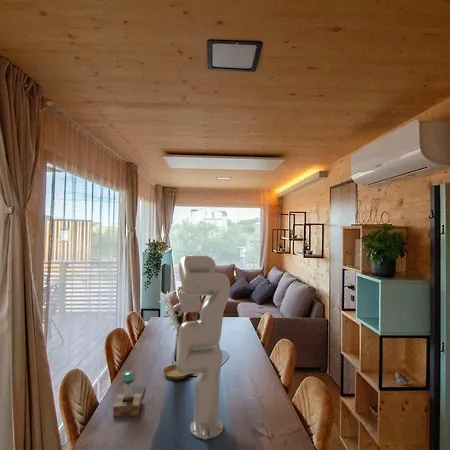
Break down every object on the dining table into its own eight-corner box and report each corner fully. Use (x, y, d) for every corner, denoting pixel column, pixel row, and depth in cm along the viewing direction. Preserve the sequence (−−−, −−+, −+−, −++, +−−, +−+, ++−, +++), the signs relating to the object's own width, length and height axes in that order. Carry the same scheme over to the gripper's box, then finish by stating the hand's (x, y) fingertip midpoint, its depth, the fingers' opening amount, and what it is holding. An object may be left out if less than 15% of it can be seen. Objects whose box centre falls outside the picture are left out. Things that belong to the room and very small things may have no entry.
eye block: (138, 415, 131) (138, 405, 132) (113, 416, 130) (113, 406, 130) (141, 402, 141) (141, 393, 141) (118, 403, 140) (118, 394, 140)
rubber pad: (142, 398, 144) (142, 397, 144) (119, 399, 143) (119, 398, 143) (145, 387, 154) (145, 386, 154) (123, 388, 153) (123, 387, 153)
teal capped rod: (133, 412, 134) (133, 375, 134) (120, 412, 133) (121, 376, 133) (134, 405, 139) (135, 370, 139) (122, 406, 138) (123, 371, 138)
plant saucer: (164, 383, 160) (164, 377, 160) (161, 370, 174) (161, 365, 174) (193, 379, 164) (193, 374, 164) (188, 367, 178) (188, 363, 178)
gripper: (174, 290, 156) (173, 326, 155) (208, 288, 162) (207, 323, 162) (171, 288, 162) (170, 322, 162) (203, 286, 169) (203, 319, 169)
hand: (189, 322), depth 162 cm, fingers open, 9 cm apart
